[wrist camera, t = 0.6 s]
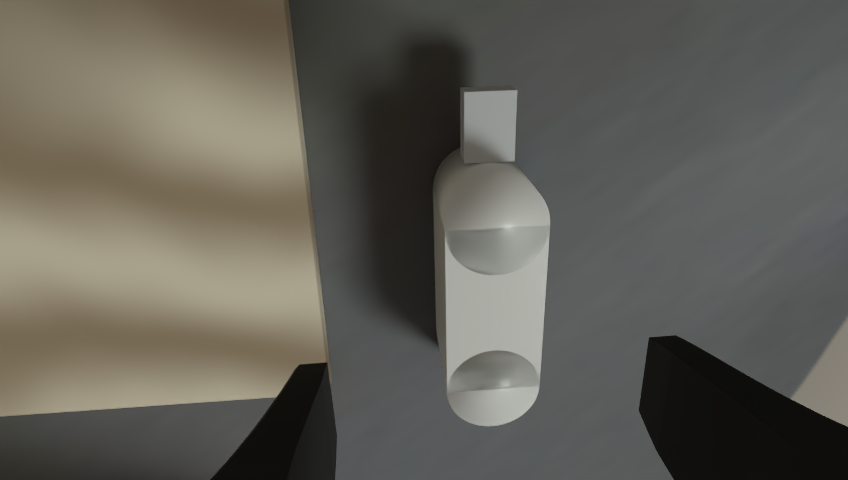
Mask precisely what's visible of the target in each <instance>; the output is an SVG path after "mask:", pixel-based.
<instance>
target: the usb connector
mask: <svg viewBox="0 0 848 480" xmlns="http://www.w3.org/2000/svg"><path fill="white" fill-rule="evenodd" d="M516 110H517V90H516V89H515V88H514V87H512V86H486V87H461V88H460V148H458V149H456V150H454V151H453V152H452V153H450V154H449V155H448V156H447V157H446V158H445V159H444V160H443V161H442V162H441V164H440V166H439V167H438V169H437V171H436V174H435V177H434V182H433V214H434V258H435V303H436V333H437V339H438V345H439V351H440V357H441V362H442V368H443V374H444V380H445V385H446V391H447V397H448V401H449V404H450V406H451V408H452V409H453V411H454V412H455V413H456V414H457V415H458V416H459V417H460V418H462V419H463V420H465V421H467V422H469V423H472V424H475V425H480V426H496V425H501V424H505V423H508V422H511V421H513V420H515V419H517V418H518V417H520V416H521V415H523V414H524V413H525V412H526V411H527V410H528V409H529V408H530V407H531V406H532V405H533V403H534V401H535V400H536V397H537V395H538V392H539V384H540V369H541V354H542V339H543V324H544V309H545V294H546V279H547V264H548V249H549V233H550V215H549V211H548V207H547V205H546V203H545V201H544V199H543V198H542V196H541V195H540V193H539V192H538V191H537V190H536V188H535V187H534V186H533V185H532V183H531V182H530V181H529V180H528V178H527V177H526V176H525V175H524V174H523V172H522V171H521V170H520V169H519V167H518V166H517V165H516V164H515V162H514V161H515V136H516Z"/></svg>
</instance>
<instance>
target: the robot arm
mask: <svg viewBox="0 0 848 480" xmlns="http://www.w3.org/2000/svg"><path fill="white" fill-rule="evenodd" d="M639 412H640V414H641V417H642V419H643V421H644V424H645V426H646V428H647V431H648V433H649V435H650V437H651V440H652V442H653V444H654V446H655V448H656V450H657V452H658V454H659V456H660V457H661V459H662V461H663V462H664V464H665V466H666V467H667V469H668V471H669V472H670V474H671V475H672V477H673V479H674V480H848V427H847V426H845V425H842V424H840V423H838V422H836V421H833V420H831V419H829V418H826V417H825V416H823V415H821V414H819V413H817V412H814V411H813V410H811V409H809V408H807V407H805V406H803V405H801V404H799V403H797V402H795V401H793V400H791V399H789V398H787V397H785V396H783V395H782V394H780V393H778V392H776V391H774V390H772V389H770V388H769V387H767V386H765V385H763V384H761V383H760V382H758V381H756V380H754V379H753V378H751V377H749V376H747V375H745V374H744V373H742V372H740V371H738V370H737V369H735V368H733V367H732V366H730V365H728V364H726V363H725V362H723V361H721V360H719V359H718V358H716V357H714V356H713V355H711V354H709V353H707V352H706V351H704V350H702V349H700V348H699V347H697V346H695V345H693V344H691V343H690V342H688V341H686V340H684V339H682V338H680V337H678V336H676V335H675V336H662V337H649V342H648V349H647V356H646V363H645V370H644V377H643V384H642V391H641V399H640V406H639ZM336 444H337V433H336V426H335V418H334V410H333V402H332V394H331V387H330V379H329V371H328V363H327V362H324V363H311V364H299V365H298V366H297V367H296V368H295V370H294V371H293V373H292V374H291V376H290V378H289V379H288V381H287V382H286V384H285V385H284V387H283V388H282V390H281V391H280V393H279V394H278V396H277V397H276V399H275V400H274V402H273V403H272V405H271V406H270V407H269V409H268V410H267V411H266V413H265V414H264V416H263V417H262V418H261V420H260V421H259V422H258V424H257V425H256V426H255V428H254V429H253V430H252V432H251V433H250V434H249V435H248V437H247V438H246V439H245V440H244V441H243V443H242V444H241V445H240V446H239V447H238V449H237V450H236V451H235V452H234V453H233V455H232V456H231V457H230V458H229V460H228V461H227V462H226V463H225V464H224V465H223V466H222V467H221V468H220V470H219V471H218V472H217V473H216V474H215V475H214V476H213V477H212V478H211V479H210V480H335V469H336Z"/></svg>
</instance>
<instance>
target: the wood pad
mask: <svg viewBox="0 0 848 480" xmlns="http://www.w3.org/2000/svg"><path fill="white" fill-rule="evenodd" d="M324 362H327V363H328V371H329V379H330V387H331V379H332V377H331V368H330V359H329V351H328V342H327V333H326V324H325V315H324V307H323V298H322V289H321V280H320V271H319V263H318V254H317V245H316V236H315V228H314V219H313V210H312V201H311V192H310V184H309V175H308V166H307V157H306V148H305V140H304V131H303V122H302V113H301V105H300V96H299V87H298V78H297V69H296V61H295V52H294V43H293V34H292V25H291V17H290V8H289V0H0V416H14V415H28V414H42V413H57V412H71V411H85V410H99V409H114V408H128V407H142V406H156V405H171V404H185V403H199V402H213V401H227V400H242V399H256V398H270V397H277V396H278V394H279V393H280V391H281V390H282V388H283V387H284V385H285V384H286V382H287V381H288V379H289V378H290V376H291V374H292V373H293V371H294V370H295V368H296V367H297V366H298V365H299V364H311V363H324Z"/></svg>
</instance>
